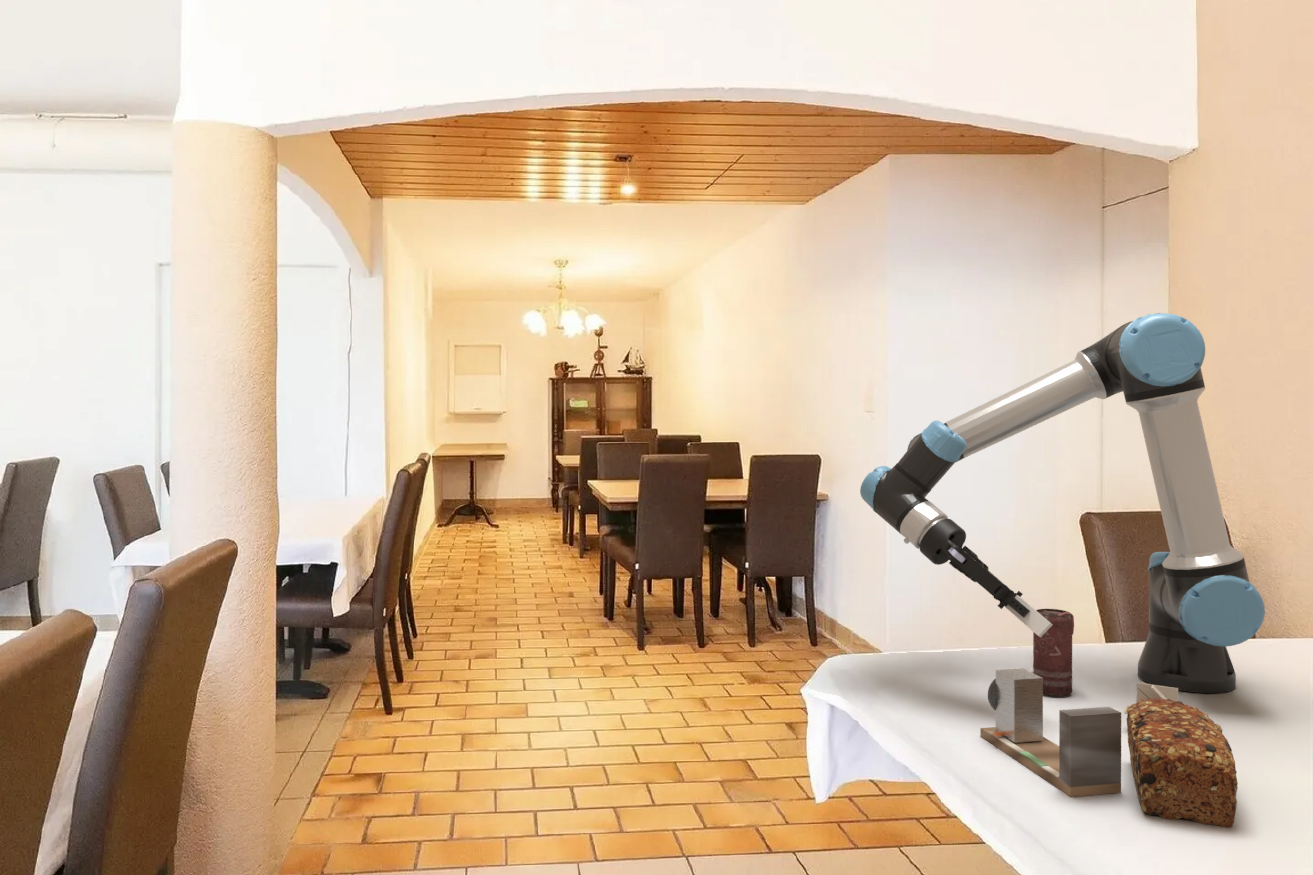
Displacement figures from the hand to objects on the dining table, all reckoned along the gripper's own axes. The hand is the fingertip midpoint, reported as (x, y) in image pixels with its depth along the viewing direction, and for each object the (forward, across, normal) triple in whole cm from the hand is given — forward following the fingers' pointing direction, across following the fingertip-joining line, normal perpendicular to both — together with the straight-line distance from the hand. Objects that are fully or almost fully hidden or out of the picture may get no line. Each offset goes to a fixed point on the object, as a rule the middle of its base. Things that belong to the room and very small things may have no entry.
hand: (1045, 630), depth 141 cm
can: (+2, -22, -8) cm, 24 cm away
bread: (+28, +10, -5) cm, 30 cm away
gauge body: (+14, +8, -14) cm, 21 cm away
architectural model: (+19, -11, -2) cm, 22 cm away
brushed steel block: (+8, +5, -14) cm, 17 cm away
